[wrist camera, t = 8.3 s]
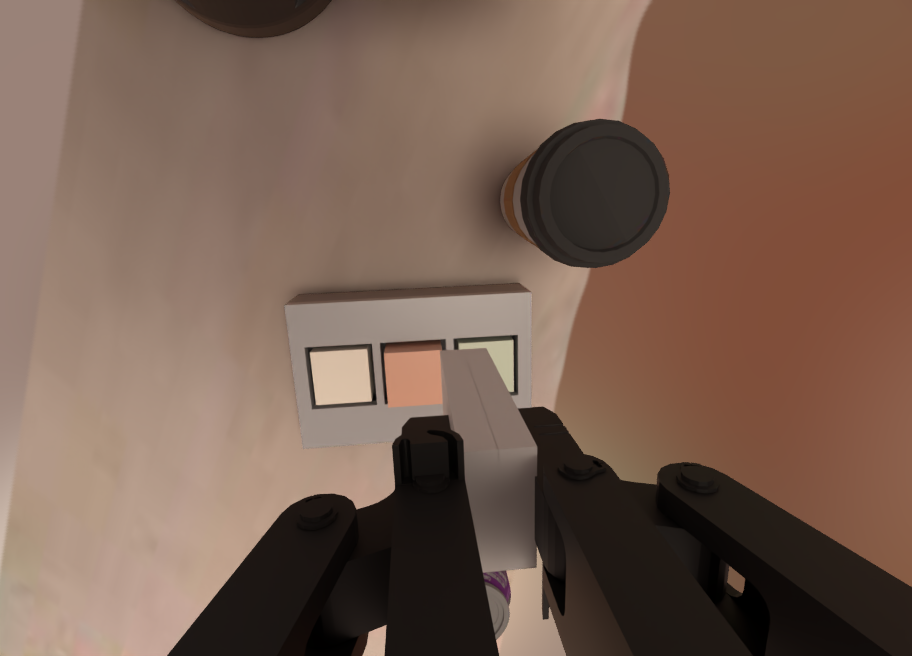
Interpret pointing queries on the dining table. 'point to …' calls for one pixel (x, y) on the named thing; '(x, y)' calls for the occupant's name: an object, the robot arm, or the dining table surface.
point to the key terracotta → (413, 373)
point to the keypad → (397, 321)
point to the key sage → (495, 354)
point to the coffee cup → (588, 194)
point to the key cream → (342, 374)
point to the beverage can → (498, 599)
